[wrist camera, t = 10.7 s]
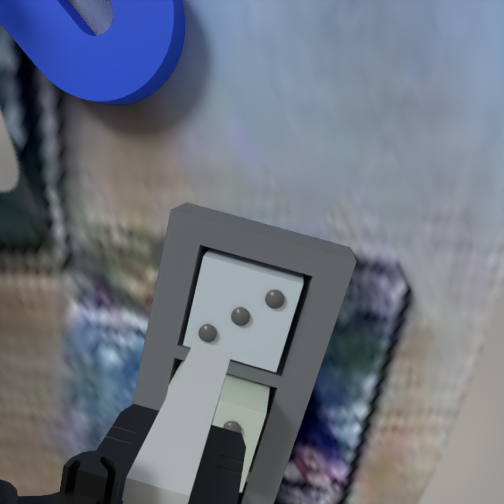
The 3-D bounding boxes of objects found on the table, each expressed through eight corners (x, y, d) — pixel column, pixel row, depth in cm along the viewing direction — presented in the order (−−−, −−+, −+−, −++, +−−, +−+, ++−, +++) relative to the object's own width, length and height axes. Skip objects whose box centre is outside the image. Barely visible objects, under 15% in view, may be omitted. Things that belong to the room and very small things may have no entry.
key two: (169, 424, 26) (149, 467, 23) (186, 353, 25) (167, 387, 21) (249, 449, 26) (241, 495, 22) (270, 378, 24) (265, 416, 21)
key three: (198, 320, 26) (181, 346, 22) (216, 241, 24) (202, 256, 21) (279, 343, 25) (275, 374, 22) (303, 265, 24) (303, 285, 20)
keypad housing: (125, 496, 30) (106, 533, 27) (186, 202, 24) (170, 210, 21) (253, 536, 30) (247, 579, 27) (349, 247, 23) (356, 261, 20)
